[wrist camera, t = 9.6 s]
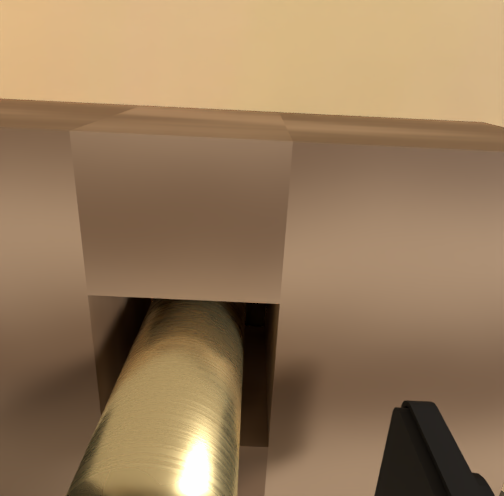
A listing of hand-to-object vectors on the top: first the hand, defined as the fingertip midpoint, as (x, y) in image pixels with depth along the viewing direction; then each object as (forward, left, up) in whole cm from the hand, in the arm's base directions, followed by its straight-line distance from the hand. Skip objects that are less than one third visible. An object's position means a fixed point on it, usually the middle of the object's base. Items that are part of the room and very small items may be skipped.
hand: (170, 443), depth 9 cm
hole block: (0, 0, -8) cm, 8 cm away
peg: (0, 0, -8) cm, 8 cm away
